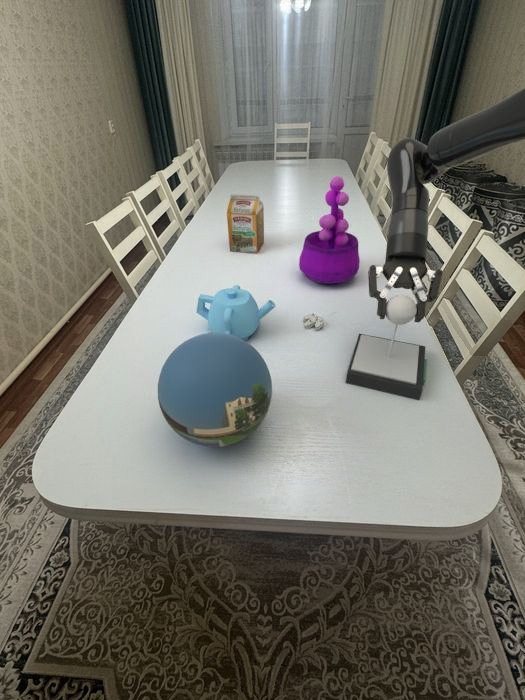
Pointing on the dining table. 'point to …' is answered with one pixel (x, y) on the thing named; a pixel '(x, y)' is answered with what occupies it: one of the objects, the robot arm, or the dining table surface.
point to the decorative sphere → (214, 389)
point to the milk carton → (245, 223)
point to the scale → (388, 366)
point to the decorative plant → (331, 243)
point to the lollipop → (400, 312)
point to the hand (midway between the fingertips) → (399, 319)
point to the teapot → (233, 312)
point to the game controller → (313, 321)
